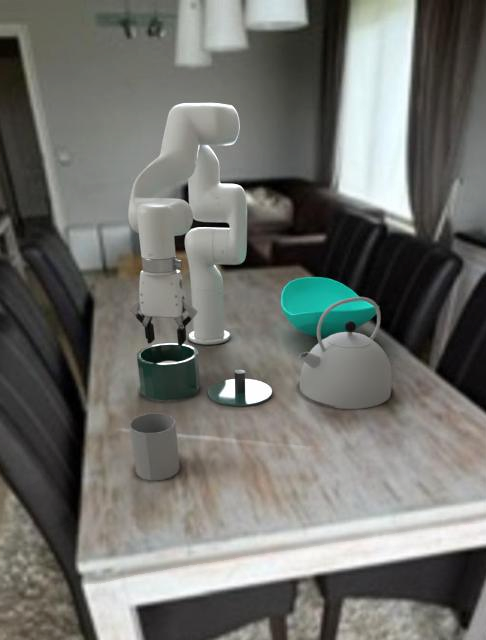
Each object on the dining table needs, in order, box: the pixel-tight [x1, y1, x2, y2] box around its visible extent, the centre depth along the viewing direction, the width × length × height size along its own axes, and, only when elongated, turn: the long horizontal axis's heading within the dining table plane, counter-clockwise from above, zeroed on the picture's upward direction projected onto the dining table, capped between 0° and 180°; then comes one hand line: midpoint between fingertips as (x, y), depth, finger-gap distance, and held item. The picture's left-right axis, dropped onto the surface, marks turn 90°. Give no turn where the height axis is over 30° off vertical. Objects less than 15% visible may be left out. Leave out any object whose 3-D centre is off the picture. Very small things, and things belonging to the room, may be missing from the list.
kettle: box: [299, 296, 393, 410], centre depth 135 cm, size 25×23×23 cm
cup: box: [129, 412, 180, 481], centre depth 107 cm, size 8×8×10 cm
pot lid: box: [207, 369, 273, 408], centre depth 137 cm, size 16×16×6 cm
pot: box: [136, 342, 201, 401], centre depth 140 cm, size 15×15×10 cm
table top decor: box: [280, 276, 380, 340], centre depth 173 cm, size 40×28×13 cm
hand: (166, 342), depth 136 cm, fingers open, 7 cm apart
